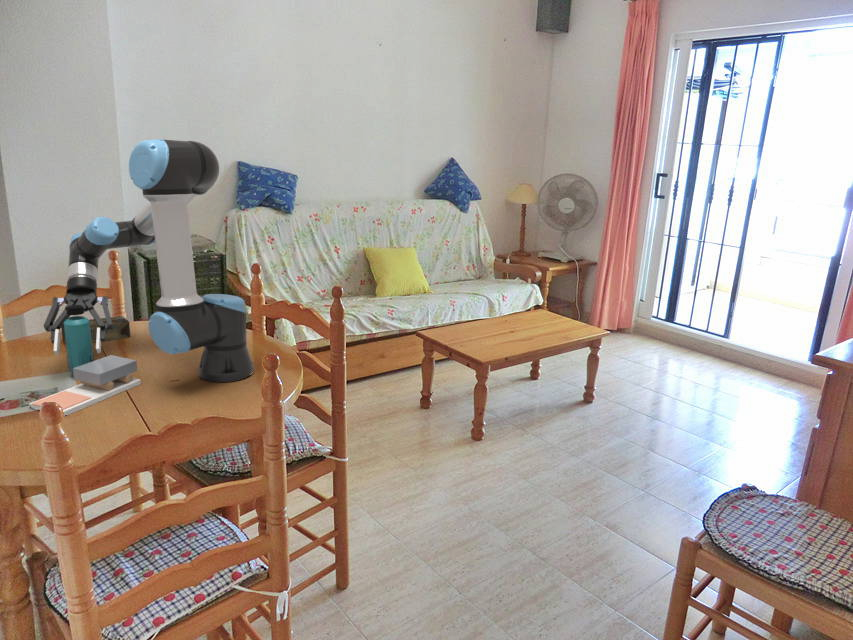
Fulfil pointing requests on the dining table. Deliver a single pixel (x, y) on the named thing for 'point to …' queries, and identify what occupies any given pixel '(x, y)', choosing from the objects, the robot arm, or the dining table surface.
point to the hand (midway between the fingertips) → (77, 351)
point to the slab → (105, 370)
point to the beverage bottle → (78, 338)
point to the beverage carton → (118, 332)
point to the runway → (88, 394)
